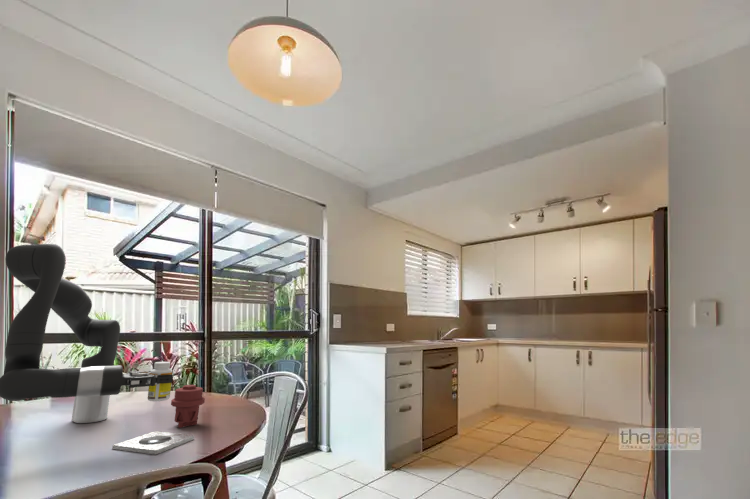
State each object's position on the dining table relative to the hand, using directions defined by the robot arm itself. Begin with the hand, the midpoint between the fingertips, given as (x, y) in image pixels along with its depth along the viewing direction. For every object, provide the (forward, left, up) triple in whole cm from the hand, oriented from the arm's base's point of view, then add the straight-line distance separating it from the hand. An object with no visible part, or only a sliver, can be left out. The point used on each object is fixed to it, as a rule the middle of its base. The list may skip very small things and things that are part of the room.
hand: (170, 377), depth 114 cm
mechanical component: (-8, +17, -18) cm, 26 cm away
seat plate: (-2, -2, -18) cm, 18 cm away
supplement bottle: (-2, -2, -6) cm, 7 cm away
